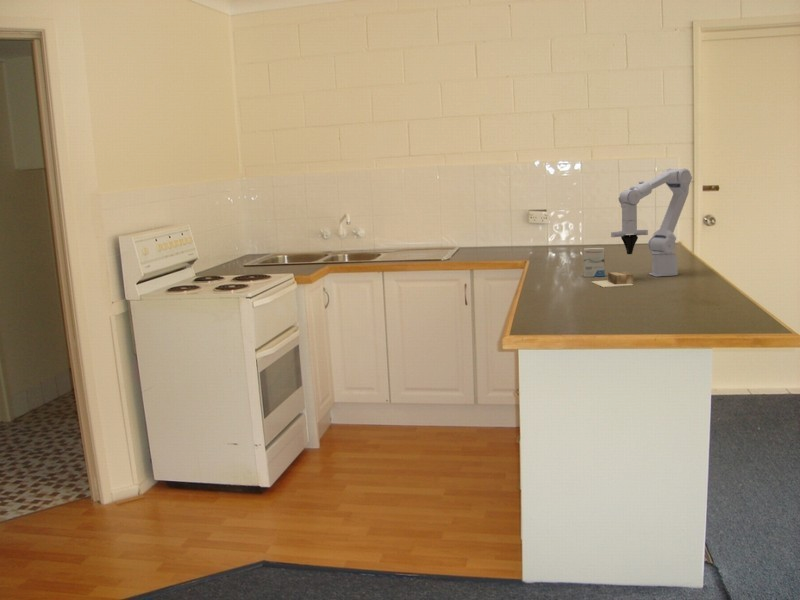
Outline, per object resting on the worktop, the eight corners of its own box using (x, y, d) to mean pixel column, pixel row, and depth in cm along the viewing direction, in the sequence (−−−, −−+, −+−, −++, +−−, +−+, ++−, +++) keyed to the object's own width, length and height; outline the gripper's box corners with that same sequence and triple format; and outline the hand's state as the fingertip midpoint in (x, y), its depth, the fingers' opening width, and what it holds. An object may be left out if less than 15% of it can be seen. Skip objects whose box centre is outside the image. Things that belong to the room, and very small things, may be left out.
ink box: (604, 274, 326) (604, 247, 324) (604, 276, 322) (604, 248, 320) (584, 275, 329) (583, 247, 327) (583, 277, 324) (583, 249, 322)
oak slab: (625, 271, 306) (608, 272, 306) (632, 274, 298) (615, 275, 298) (625, 280, 307) (608, 281, 306) (632, 283, 299) (615, 284, 298)
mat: (620, 280, 310) (620, 279, 310) (633, 285, 296) (633, 284, 296) (591, 282, 309) (591, 281, 309) (603, 287, 295) (603, 286, 295)
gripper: (642, 218, 311) (642, 251, 314) (608, 220, 310) (608, 254, 312) (650, 219, 304) (650, 253, 307) (614, 221, 303) (614, 256, 305)
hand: (629, 254), depth 309 cm, fingers closed
